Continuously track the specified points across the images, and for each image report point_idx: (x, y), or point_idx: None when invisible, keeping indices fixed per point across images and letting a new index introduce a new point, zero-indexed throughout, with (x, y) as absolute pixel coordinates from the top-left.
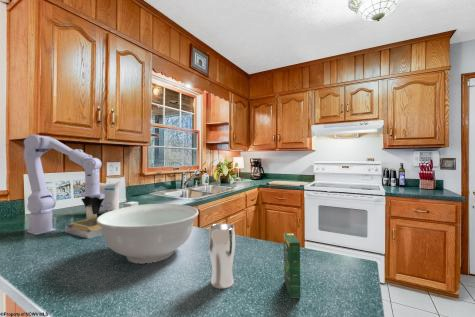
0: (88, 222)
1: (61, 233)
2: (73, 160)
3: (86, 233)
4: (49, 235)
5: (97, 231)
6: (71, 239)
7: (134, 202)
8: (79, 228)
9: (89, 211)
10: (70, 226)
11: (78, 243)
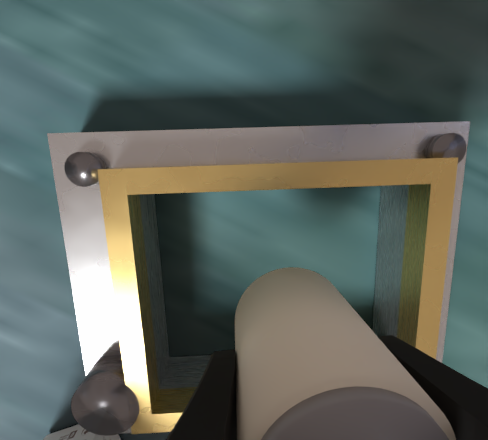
0: (400, 312)
1: (429, 94)
2: None
3: (73, 134)
4: (468, 6)
5: (70, 227)
6: (173, 54)
7: None
8: (265, 162)
9: (267, 337)
10: (425, 152)
11: (6, 31)
